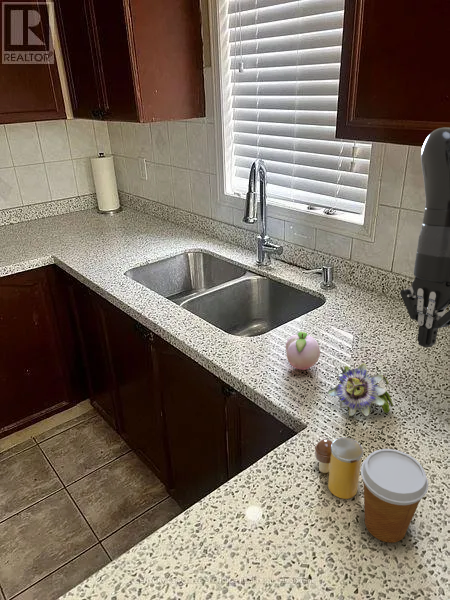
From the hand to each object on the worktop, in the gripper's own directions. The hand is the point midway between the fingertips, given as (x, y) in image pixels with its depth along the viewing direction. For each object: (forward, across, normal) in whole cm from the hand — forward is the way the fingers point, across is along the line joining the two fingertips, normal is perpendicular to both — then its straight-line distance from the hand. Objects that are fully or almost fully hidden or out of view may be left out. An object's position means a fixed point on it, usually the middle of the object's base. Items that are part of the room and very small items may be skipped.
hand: (425, 345), depth 81 cm
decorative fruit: (+17, +32, +2) cm, 36 cm away
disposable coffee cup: (+25, -10, +17) cm, 32 cm away
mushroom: (+23, +4, +18) cm, 29 cm away
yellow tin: (+24, -1, +18) cm, 29 cm away
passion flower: (+19, +14, 0) cm, 24 cm away
